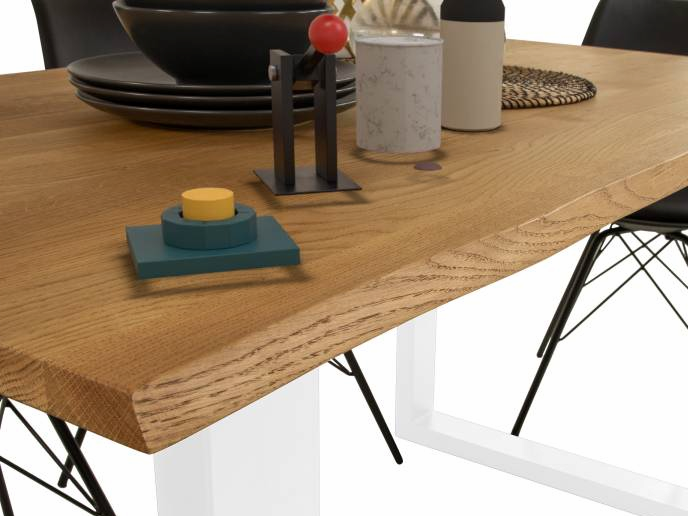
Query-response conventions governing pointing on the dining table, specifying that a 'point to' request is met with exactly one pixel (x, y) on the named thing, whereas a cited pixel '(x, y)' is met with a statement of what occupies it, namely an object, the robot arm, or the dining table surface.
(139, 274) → the control block
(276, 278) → the dining table surface
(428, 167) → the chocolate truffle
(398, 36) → the white marbled canister
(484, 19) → the travel mug
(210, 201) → the button
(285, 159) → the bracket
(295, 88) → the lever
